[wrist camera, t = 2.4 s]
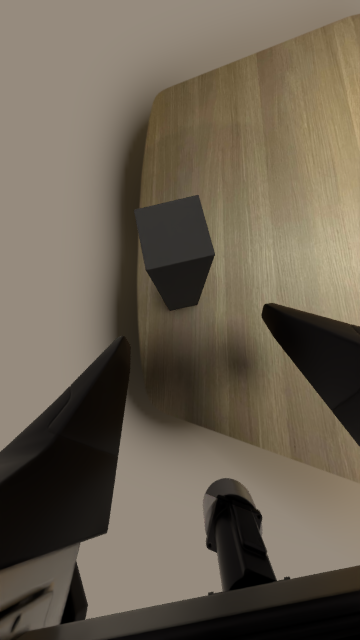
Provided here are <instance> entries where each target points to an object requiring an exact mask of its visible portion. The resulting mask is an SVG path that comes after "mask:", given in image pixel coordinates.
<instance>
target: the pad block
mask: <svg viewBox="0 0 360 640" xmlns="http://www.w3.org/2000/svg"><path fill="white" fill-rule="evenodd" d="M134 212H135V217H136V223H137V228H138V233H139V238H140V243H141V248H142V253H143V258H144V263H145V268H146V271H147V273H148V274H149V276H150V278H151V280H152V281H153V283H154V285H155V286H156V288H157V290H158V292H159V293H160V295H161V297H162V298H163V300H164V302H165V303H166V305H167V307H168V309H169V310H170V311H171V310H176V309H180V308H185V307H189V306H194V305H197V304H198V301H199V299H200V296H201V293H202V290H203V287H204V284H205V281H206V279H207V276H208V273H209V270H210V267H211V264H212V261H213V258H214V256H215V253H214V249H213V245H212V242H211V238H210V235H209V231H208V227H207V224H206V220H205V217H204V213H203V209H202V206H201V202H200V199H199V195H195V196H191V197H187V198H183V199H178V200H174V201H170V202H166V203H161V204H157V205H153V206H149V207H144V208H140V209H136V210H134Z"/></svg>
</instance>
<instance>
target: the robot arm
mask: <svg viewBox="0 0 360 640" xmlns="http://www.w3.org/2000/svg"><path fill="white" fill-rule="evenodd" d="M262 319H263V321H264V322H265V324H266V325H267V327H268V329H269V330H270V332H271V333H272V335H273V336H274V338H275V339H276V341H277V342H278V343H279V344H280V346H281V347H282V348H283V350H284V351H285V352H286V353H287V355H288V356H289V357H290V358H291V360H292V361H293V362H294V364H295V365H296V366H297V367H298V369H299V370H300V371H301V372H302V374H303V375H304V376H305V378H306V379H307V380H308V381H309V383H310V384H311V385H312V386H313V388H314V389H315V390H316V391H317V393H318V394H319V395H320V397H321V398H322V399H323V400H324V402H325V403H326V404H327V405H328V407H329V408H330V409H331V410H332V412H333V413H334V415H335V416H336V417H337V418H338V420H339V421H340V422H341V423H342V425H343V426H344V427H345V429H346V430H347V431H348V432H349V434H350V435H351V436H352V437H353V439H354V440H355V441H356V443H357V444H358V445H359V446H360V327H359V326H356V325H352V324H351V325H350V324H348V323H344V322H341V321H337V320H333V319H330V318H326V317H322V316H319V315H315V314H311V313H307V312H304V311H300V310H296V309H293V308H289V307H285V306H282V305H278V304H274V303H268V304H265V305H264V306H263V310H262ZM130 350H131V347H130V344H129V342H128V341H127V339H126V337H124V336H121V337H118V338H117V339H116V340H114V341H113V343H112V344H111V345H110V346H109V347H108V348H107V349H106V350H105V351H104V352H103V353H102V354H101V355H100V356H99V357H98V358H97V359H96V360H95V361H94V362H93V363H92V364H91V365H90V366H89V367H88V368H87V369H86V370H85V371H84V372H83V373H82V374H81V375H80V376H79V377H78V379H76V380H75V381H74V382H73V384H71V387H68V388H67V389H66V391H65V392H64V393H63V394H62V395H61V396H60V397H59V398H58V399H57V400H56V401H55V402H54V403H53V404H52V405H50V406H49V407H48V408H47V409H46V410H45V411H44V412H43V413H42V414H41V415H40V416H39V417H38V418H37V419H36V420H34V421H33V422H32V423H31V424H30V425H29V426H28V427H27V428H26V429H25V430H24V431H23V432H21V433H20V434H19V435H18V436H17V437H16V438H15V439H14V440H13V441H12V442H11V443H10V444H9V445H7V446H6V447H5V448H4V449H3V450H2V451H1V452H0V640H360V566H355V567H349V568H344V569H339V570H334V571H329V572H324V573H319V574H314V575H309V576H304V577H299V578H294V579H290V577H284V580H279V581H277V580H276V577H275V575H274V571H273V569H272V566H271V563H270V561H269V558H268V555H267V550H266V547H265V544H264V542H263V539H262V536H261V534H260V527H261V521H262V515H261V512H260V511H259V510H258V509H255V508H253V507H250V506H248V505H245V504H243V503H240V502H238V501H235V500H233V499H230V498H228V497H225V496H222V495H217V497H216V500H215V505H214V509H213V513H212V517H211V521H210V525H209V530H208V534H207V538H206V545H207V548H208V549H209V550H212V551H214V552H216V553H217V556H218V563H219V569H220V576H221V583H222V589H223V592H219V593H213V592H210V593H208V596H203V597H198V598H192V599H187V600H182V601H177V602H172V603H167V604H162V605H157V606H152V607H147V608H142V609H137V610H132V611H127V612H122V613H116V614H111V615H107V616H101V617H96V618H91V619H86V620H85V617H86V612H87V607H88V604H87V600H86V596H85V593H84V589H83V585H82V581H81V577H80V573H79V570H78V566H77V562H76V559H77V554H78V551H79V546H80V542H83V541H86V540H88V539H91V538H94V537H97V536H100V535H103V534H106V533H107V530H108V524H109V518H110V511H111V503H112V497H113V489H114V482H115V475H116V468H117V460H118V453H119V446H120V438H121V431H122V423H123V417H124V410H125V403H126V395H127V388H128V381H129V373H130V354H131V351H130Z"/></svg>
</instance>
